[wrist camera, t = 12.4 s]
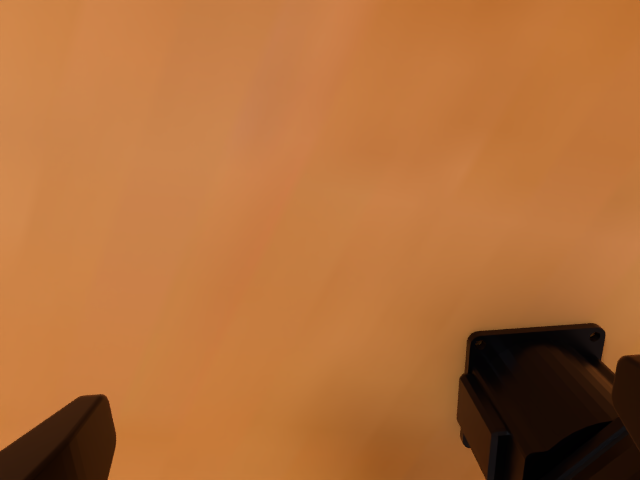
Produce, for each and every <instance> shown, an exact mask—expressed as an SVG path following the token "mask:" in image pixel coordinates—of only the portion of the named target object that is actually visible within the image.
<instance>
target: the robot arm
mask: <svg viewBox="0 0 640 480" xmlns="http://www.w3.org/2000/svg"><path fill="white" fill-rule="evenodd" d="M594 332H595V334H594V335H593V336H592V337H590V335H591V334H592V333H594ZM480 340H483V341H482V343H481V344H480V345H475V344H476V343H477V342H478V341H480ZM604 341H605V331H604V330H603V329H602V328H601V327H600V326H598V325H597V324H594V323H588V324H574V325H560V326H546V327H531V328H517V329H503V330H489V331H477V332H474V333H472V334H471V335H470V336H469V337H468V340H467V348H466V362H465V374H462V376H461V377H460V379H459V392H458V406H457V421H458V423H459V425H460V427H461V430H460V438H461V440H462V442H463V444H464V446H465V447H467V448H471V450H472V452H473V454H474V456H475V458H476V460H477V462H478V464H479V466H480V468H481V470H482V472H483V474H484V476H485V479H486V480H640V355H627V356H623V357H621V358H620V359H619V360H618V363H617V367H616V372H615V374H614V373H613V372H612V371H611V370H610V369H609V368H608V367H607V366H606V365H605V364H604V363H603V362H601V357H602V352H603V346H604ZM115 447H116V432H115V427H114V423H113V418H112V414H111V409H110V404H109V401H108V399H107V397H106V396H105V395H103V394H99V395H85V396H80V397H78V398H76V399H75V400H74V401H72V402H71V403H69V404H68V405H66V406H65V407H63V408H62V409H61V410H59V411H58V412H56V413H55V414H53V415H52V416H50V417H49V418H48V419H46V420H45V421H43V422H42V423H40V424H39V425H38V426H36V427H35V428H33V429H32V430H30V431H29V432H27V433H26V434H25V435H23V436H22V437H20V438H19V439H17V440H16V441H14V442H13V443H12V444H10V445H9V446H7V447H6V448H4V449H3V450H1V451H0V480H108V476H109V472H110V468H111V464H112V459H113V455H114V451H115Z"/></svg>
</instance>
